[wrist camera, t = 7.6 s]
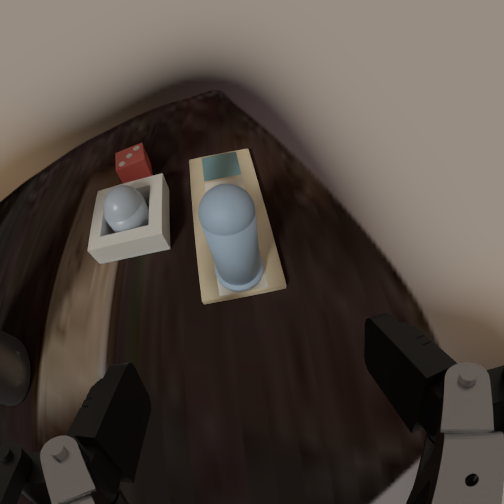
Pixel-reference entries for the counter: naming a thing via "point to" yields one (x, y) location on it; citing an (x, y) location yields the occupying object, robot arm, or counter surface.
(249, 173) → the track
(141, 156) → the die
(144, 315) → the counter surface
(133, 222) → the light blue rounded piece
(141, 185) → the base
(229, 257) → the pawn
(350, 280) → the counter surface
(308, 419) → the counter surface
